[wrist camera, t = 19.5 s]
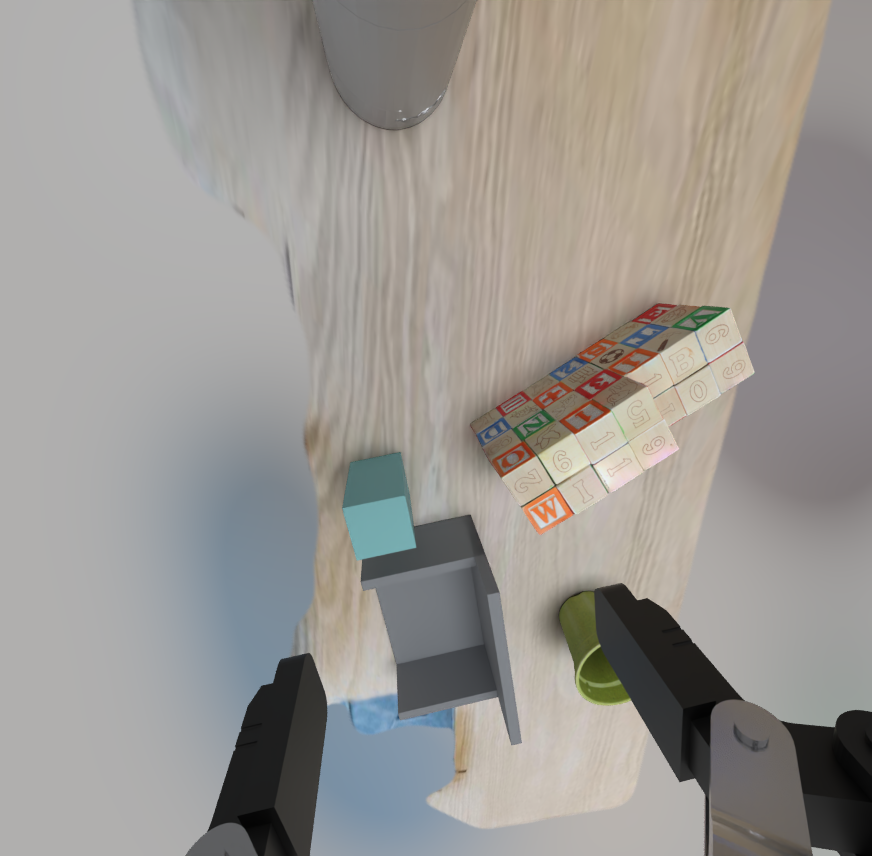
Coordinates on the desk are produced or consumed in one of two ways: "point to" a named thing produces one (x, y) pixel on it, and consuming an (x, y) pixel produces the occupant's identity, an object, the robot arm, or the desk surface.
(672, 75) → the desk surface
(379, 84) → the robot arm
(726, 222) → the desk surface
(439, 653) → the grey open tray
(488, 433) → the stack of blocks
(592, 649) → the plant pot
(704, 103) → the desk surface
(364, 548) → the block
